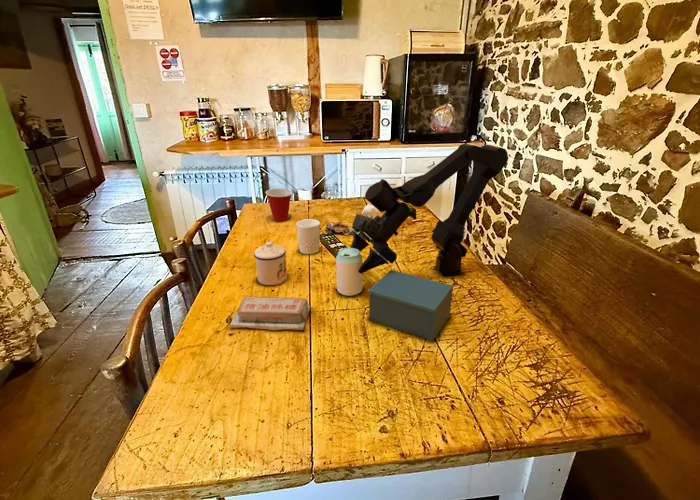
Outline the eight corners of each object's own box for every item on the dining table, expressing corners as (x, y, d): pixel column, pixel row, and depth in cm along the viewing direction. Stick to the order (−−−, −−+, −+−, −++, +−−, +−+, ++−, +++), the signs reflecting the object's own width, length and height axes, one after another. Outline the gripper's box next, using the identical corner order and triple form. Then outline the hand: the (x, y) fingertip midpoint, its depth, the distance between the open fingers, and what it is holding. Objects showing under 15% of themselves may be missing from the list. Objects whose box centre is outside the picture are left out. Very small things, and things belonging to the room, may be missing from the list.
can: (365, 295, 108) (365, 255, 103) (339, 298, 107) (338, 258, 102) (358, 283, 114) (358, 245, 109) (334, 286, 113) (333, 247, 108)
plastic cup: (292, 223, 159) (290, 195, 154) (265, 223, 159) (262, 195, 154) (296, 214, 169) (294, 187, 164) (271, 214, 169) (268, 187, 164)
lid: (434, 313, 86) (434, 310, 86) (368, 293, 94) (368, 290, 94) (452, 288, 95) (453, 285, 95) (390, 272, 103) (390, 269, 103)
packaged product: (310, 292, 100) (302, 314, 91) (311, 308, 102) (303, 331, 93) (241, 290, 102) (227, 312, 93) (243, 306, 104) (229, 329, 95)
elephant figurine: (362, 215, 167) (362, 201, 165) (380, 216, 166) (381, 202, 164) (360, 220, 161) (360, 207, 159) (379, 221, 160) (380, 207, 158)
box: (432, 340, 90) (435, 311, 86) (369, 319, 98) (369, 292, 94) (449, 315, 99) (452, 288, 95) (390, 298, 107) (390, 272, 103)
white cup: (293, 253, 134) (291, 225, 129) (304, 244, 140) (303, 217, 136) (314, 256, 131) (313, 228, 127) (324, 247, 138) (323, 220, 133)
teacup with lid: (283, 286, 113) (280, 249, 108) (252, 285, 114) (248, 248, 109) (293, 267, 124) (290, 233, 119) (265, 266, 125) (261, 232, 120)
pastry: (356, 235, 147) (356, 226, 146) (324, 235, 148) (324, 226, 146) (356, 228, 154) (356, 219, 152) (326, 228, 154) (325, 219, 153)
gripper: (358, 194, 110) (322, 236, 111) (386, 215, 94) (344, 264, 95) (383, 217, 116) (348, 257, 117) (414, 240, 100) (374, 286, 101)
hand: (353, 265), depth 108 cm, fingers open, 9 cm apart
